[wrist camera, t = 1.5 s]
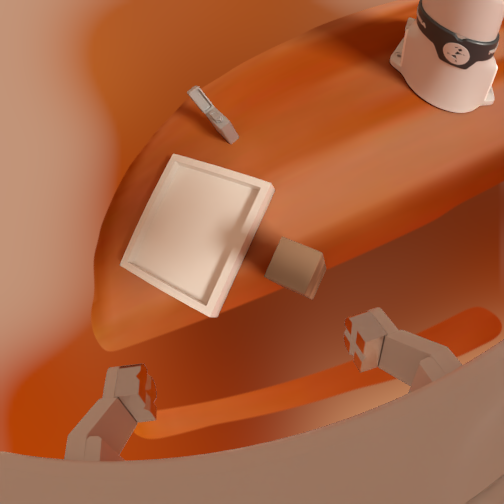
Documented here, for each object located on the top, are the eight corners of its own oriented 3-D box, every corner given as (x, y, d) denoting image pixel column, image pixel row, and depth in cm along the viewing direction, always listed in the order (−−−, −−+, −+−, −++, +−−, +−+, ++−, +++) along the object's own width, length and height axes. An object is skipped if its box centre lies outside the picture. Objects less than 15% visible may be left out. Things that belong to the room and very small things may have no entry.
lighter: (239, 137, 43) (221, 105, 36) (230, 144, 44) (210, 114, 36) (214, 113, 46) (194, 82, 38) (206, 119, 46) (184, 90, 38)
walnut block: (296, 256, 38) (281, 236, 28) (326, 268, 37) (322, 252, 27) (282, 286, 38) (263, 276, 28) (312, 299, 36) (304, 294, 27)
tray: (180, 160, 45) (173, 153, 43) (275, 190, 40) (271, 183, 38) (129, 267, 44) (119, 265, 42) (217, 317, 39) (209, 317, 37)
